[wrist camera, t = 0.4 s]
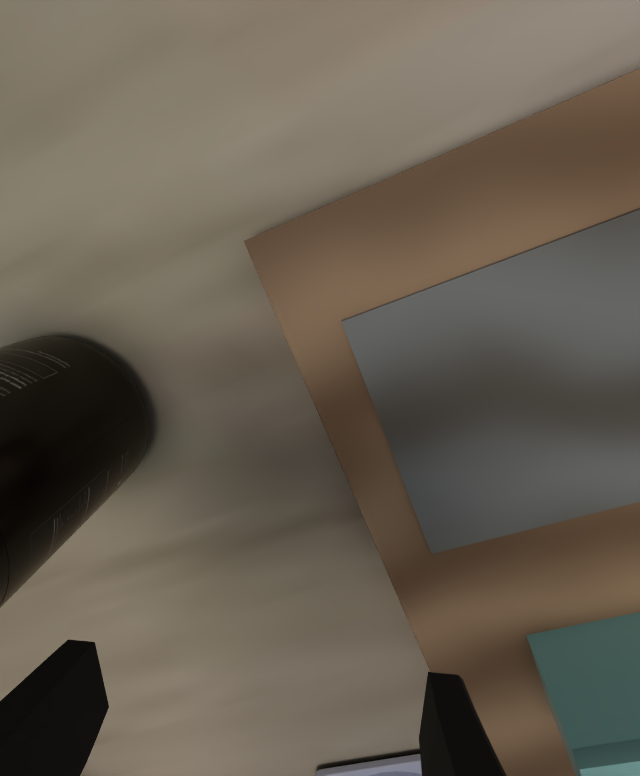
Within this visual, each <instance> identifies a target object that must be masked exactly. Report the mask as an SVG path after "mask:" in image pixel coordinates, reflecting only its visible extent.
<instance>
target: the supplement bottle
mask: <svg viewBox="0 0 640 776" xmlns="http://www.w3.org/2000/svg"><path fill="white" fill-rule="evenodd" d="M148 434H149V427H148V417H147V413H146V409H145V406H144V402H143V400H142V398H141V395H140V393H139V392H138V390H137V388H136V386H135V385H134V383H133V382H132V380H131V379H130V378H129V376H128V375H127V374H126V373H125V371H124V370H123V369H122V368H121V367H120V366H119V365H118V364H117V363H116V362H114V361H113V360H112V359H111V358H109V357H108V356H107V355H105V354H104V353H102V352H101V351H99V350H97V349H95V348H93V347H91V346H89V345H87V344H85V343H82V342H79V341H76V340H72V339H68V338H62V337H38V338H32V339H28V340H24V341H21V342H17V343H14V344H11V345H7V346H4V347H1V348H0V608H1V607H2V606H3V605H4V603H5V602H6V601H7V600H8V599H9V598H10V597H11V596H12V595H13V594H14V593H15V592H16V591H17V590H18V589H19V588H20V587H21V586H22V585H23V584H24V583H25V582H26V581H27V580H28V579H29V578H30V577H31V576H32V575H33V574H34V573H35V572H36V571H37V570H38V569H39V568H40V567H41V566H42V565H43V564H44V563H45V562H46V561H47V560H48V559H49V558H50V557H51V556H52V555H53V554H54V553H55V552H56V551H57V550H58V549H59V548H60V547H61V546H62V545H63V544H64V543H65V542H66V541H67V540H68V539H69V538H70V537H71V536H72V535H73V534H74V533H75V532H76V531H77V530H78V529H79V528H80V527H81V526H82V525H83V524H84V523H85V522H86V521H87V520H88V519H89V518H90V517H91V516H92V514H93V513H94V512H95V511H96V510H97V509H98V508H99V507H100V506H101V505H102V504H103V503H104V502H105V501H106V500H107V499H108V498H109V497H110V496H111V495H112V494H113V493H114V492H115V491H116V490H117V489H118V488H119V487H120V486H121V485H122V484H123V483H124V482H125V481H126V480H127V479H128V478H129V476H130V475H131V474H132V473H133V472H134V471H135V469H136V468H137V467H138V465H139V464H140V462H141V460H142V458H143V456H144V453H145V450H146V447H147V442H148Z"/></svg>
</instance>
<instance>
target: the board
mask: <svg viewBox="0 0 640 776" xmlns="http://www.w3.org/2000/svg"><path fill="white" fill-rule="evenodd" d="M244 243H245V245H246V247H247V250H248V252H249V254H250V256H251V259H252V261H253V263H254V266H255V268H256V270H257V273H258V275H259V277H260V280H261V282H262V284H263V286H264V289H265V291H266V293H267V296H268V298H269V300H270V303H271V305H272V307H273V310H274V312H275V314H276V316H277V319H278V321H279V323H280V326H281V328H282V330H283V333H284V335H285V337H286V340H287V342H288V344H289V346H290V349H291V351H292V353H293V356H294V358H295V360H296V363H297V365H298V367H299V370H300V372H301V374H302V376H303V379H304V381H305V383H306V386H307V388H308V390H309V393H310V395H311V397H312V400H313V402H314V404H315V406H316V409H317V411H318V413H319V416H320V418H321V420H322V423H323V425H324V427H325V430H326V432H327V434H328V436H329V439H330V441H331V443H332V446H333V448H334V450H335V453H336V455H337V457H338V460H339V462H340V464H341V466H342V469H343V471H344V473H345V476H346V478H347V480H348V483H349V485H350V487H351V490H352V492H353V494H354V496H355V499H356V501H357V503H358V506H359V508H360V510H361V513H362V515H363V517H364V519H365V522H366V524H367V526H368V529H369V531H370V533H371V536H372V538H373V540H374V543H375V545H376V547H377V549H378V552H379V554H380V556H381V559H382V561H383V563H384V566H385V568H386V570H387V573H388V575H389V577H390V579H391V582H392V584H393V586H394V589H395V591H396V593H397V596H398V598H399V600H400V603H401V605H402V607H403V609H404V612H405V614H406V616H407V619H408V621H409V623H410V626H411V628H412V630H413V633H414V635H415V637H416V639H417V642H418V644H419V646H420V649H421V651H422V653H423V656H424V658H425V660H426V663H427V665H428V667H429V669H430V672H434V673H445V674H456V675H459V676H460V677H461V678H462V679H463V681H464V683H465V686H466V688H467V691H468V693H469V696H470V698H471V700H472V703H473V705H474V708H475V710H476V712H477V714H478V717H479V719H480V721H481V723H482V725H483V728H484V730H485V732H486V734H487V736H488V738H489V740H490V743H491V745H492V747H493V749H494V751H495V753H496V755H497V757H498V759H499V761H500V763H501V765H502V767H503V769H504V771H505V773H506V775H507V776H576V775H575V772H574V769H573V767H572V764H571V762H570V759H569V756H568V754H567V751H566V749H565V746H564V744H563V741H562V738H561V736H560V733H559V731H558V728H557V725H556V723H555V720H554V718H553V715H552V712H551V709H550V706H549V703H548V700H547V697H546V694H545V691H544V688H543V685H542V682H541V679H540V676H539V673H538V670H537V667H536V664H535V660H534V657H533V654H532V651H531V648H530V645H529V642H528V639H527V636H526V635H529V634H534V633H539V632H544V631H549V630H554V629H559V628H564V627H569V626H574V625H579V624H583V623H588V622H593V621H598V620H603V619H608V618H613V617H618V616H623V615H628V614H633V613H638V612H640V69H637V70H635V71H633V72H631V73H628V74H626V75H624V76H621V77H619V78H617V79H615V80H612V81H610V82H608V83H605V84H603V85H601V86H598V87H596V88H594V89H592V90H589V91H587V92H585V93H582V94H580V95H578V96H576V97H573V98H571V99H569V100H566V101H564V102H562V103H560V104H557V105H555V106H553V107H550V108H548V109H546V110H543V111H541V112H539V113H537V114H534V115H532V116H530V117H527V118H525V119H523V120H521V121H518V122H516V123H514V124H511V125H509V126H507V127H504V128H502V129H500V130H498V131H495V132H493V133H491V134H488V135H486V136H484V137H482V138H479V139H477V140H475V141H472V142H470V143H468V144H466V145H463V146H461V147H459V148H456V149H454V150H452V151H449V152H447V153H445V154H443V155H440V156H438V157H436V158H433V159H431V160H429V161H427V162H424V163H422V164H420V165H417V166H415V167H413V168H411V169H408V170H406V171H404V172H401V173H399V174H397V175H394V176H392V177H390V178H388V179H385V180H383V181H381V182H378V183H376V184H374V185H372V186H369V187H367V188H365V189H362V190H360V191H358V192H356V193H353V194H351V195H349V196H346V197H344V198H342V199H339V200H337V201H335V202H333V203H330V204H328V205H326V206H323V207H321V208H319V209H317V210H314V211H312V212H310V213H307V214H305V215H303V216H301V217H298V218H296V219H294V220H291V221H289V222H287V223H284V224H282V225H280V226H278V227H275V228H273V229H271V230H268V231H266V232H264V233H262V234H259V235H257V236H255V237H252V238H250V239H248V240H246V241H244Z"/></svg>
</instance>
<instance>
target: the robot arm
mask: <svg viewBox="0 0 640 776" xmlns="http://www.w3.org/2000/svg"><path fill="white" fill-rule="evenodd" d="M108 708H109V705H108V700H107V696H106V691H105V687H104V682H103V678H102V673H101V669H100V664H99V659H98V655H97V650H96V646H95V642H88V641H77V640H67V641H66V642H65V643H64V644H63V645H62V646H61V647H59V648H58V649H57V650H56V651H55V652H54V653H53V654H52V655H51V656H49V657H48V658H47V659H46V660H45V661H44V662H43V663H42V664H41V665H40V666H38V667H37V668H36V669H35V670H34V671H33V672H32V673H31V674H30V675H29V676H28V677H26V678H25V679H24V680H23V681H22V682H21V683H20V684H19V685H18V686H17V687H15V688H14V689H13V690H12V691H11V692H10V693H9V694H8V695H7V696H6V697H4V698H3V699H2V700H1V701H0V776H80V774H81V772H82V770H83V768H84V766H85V764H86V762H87V760H88V757H89V755H90V753H91V750H92V748H93V745H94V743H95V741H96V738H97V736H98V733H99V731H100V728H101V725H102V723H103V720H104V718H105V715H106V713H107V710H108ZM419 744H420V754H415V755H408V756H402V757H396V758H389V759H383V760H377V761H370V762H364V763H358V764H351V765H345V766H339V767H332V768H326V769H320V770H318V771H317V772H316V774H315V776H507V775H506V773H505V771H504V769H503V767H502V765H501V763H500V761H499V759H498V757H497V755H496V753H495V751H494V749H493V747H492V745H491V743H490V740H489V738H488V736H487V734H486V732H485V730H484V728H483V725H482V723H481V721H480V719H479V717H478V714H477V712H476V710H475V708H474V705H473V703H472V700H471V698H470V696H469V693H468V691H467V688H466V686H465V683H464V681H463V679H462V678H461V677H460V676H459V675H456V674H445V673H434V672H428V677H427V684H426V692H425V699H424V706H423V713H422V720H421V728H420V735H419Z"/></svg>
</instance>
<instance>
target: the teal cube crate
mask: <svg viewBox="0 0 640 776" xmlns="http://www.w3.org/2000/svg"><path fill="white" fill-rule="evenodd" d="M526 636H527V639H528V642H529V645H530V648H531V651H532V654H533V657H534V660H535V664H536V667H537V670H538V673H539V676H540V679H541V682H542V685H543V688H544V691H545V694H546V697H547V700H548V703H549V706H550V709H551V712H552V715H553V718H554V720H555V723H556V725H557V728H558V731H559V733H560V736H561V738H562V741H563V744H564V746H565V749H566V751H567V754H568V756H569V759H570V762H571V764H572V767H573V769H574V772H575V775H576V776H640V612H638V613H633V614H628V615H623V616H618V617H613V618H608V619H603V620H598V621H593V622H588V623H583V624H579V625H574V626H569V627H564V628H559V629H554V630H549V631H544V632H539V633H534V634H529V635H526Z"/></svg>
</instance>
